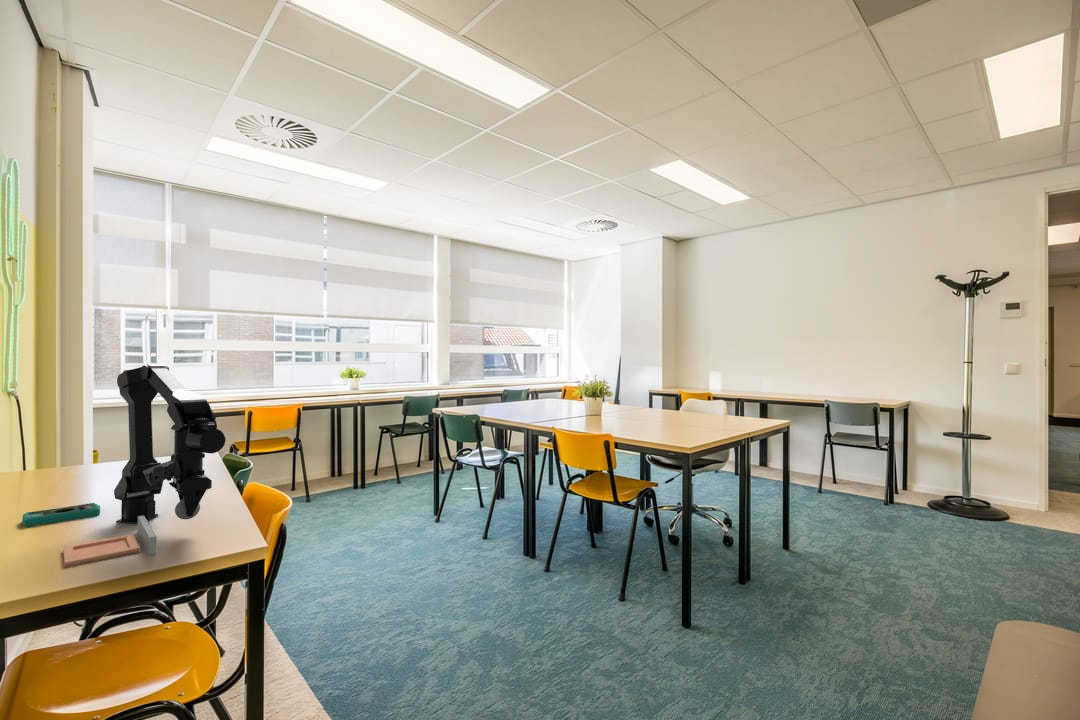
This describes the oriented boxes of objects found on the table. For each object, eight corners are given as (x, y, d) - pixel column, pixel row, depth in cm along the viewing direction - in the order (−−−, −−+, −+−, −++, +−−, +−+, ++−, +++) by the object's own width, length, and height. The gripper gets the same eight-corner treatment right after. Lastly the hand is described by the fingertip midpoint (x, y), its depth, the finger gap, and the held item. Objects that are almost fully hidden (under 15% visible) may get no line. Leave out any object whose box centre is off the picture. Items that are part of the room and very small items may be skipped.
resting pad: (63, 551, 110) (63, 546, 110) (133, 538, 118) (133, 533, 118) (64, 567, 101) (64, 562, 101) (139, 552, 110) (140, 547, 110)
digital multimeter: (101, 517, 135) (101, 506, 135) (22, 529, 124) (23, 518, 124) (97, 511, 140) (98, 501, 140) (21, 523, 129) (22, 512, 129)
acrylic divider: (137, 532, 122) (137, 516, 122) (143, 531, 123) (143, 515, 123) (149, 556, 108) (149, 537, 108) (156, 554, 109) (156, 536, 109)
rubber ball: (169, 522, 118) (169, 501, 118) (184, 515, 123) (185, 495, 123) (190, 522, 118) (190, 501, 118) (204, 515, 123) (205, 495, 123)
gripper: (141, 448, 122) (140, 511, 122) (152, 459, 108) (151, 531, 108) (195, 443, 130) (194, 503, 129) (212, 453, 116) (211, 520, 116)
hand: (187, 513), depth 121 cm, fingers closed on rubber ball, 5 cm apart
